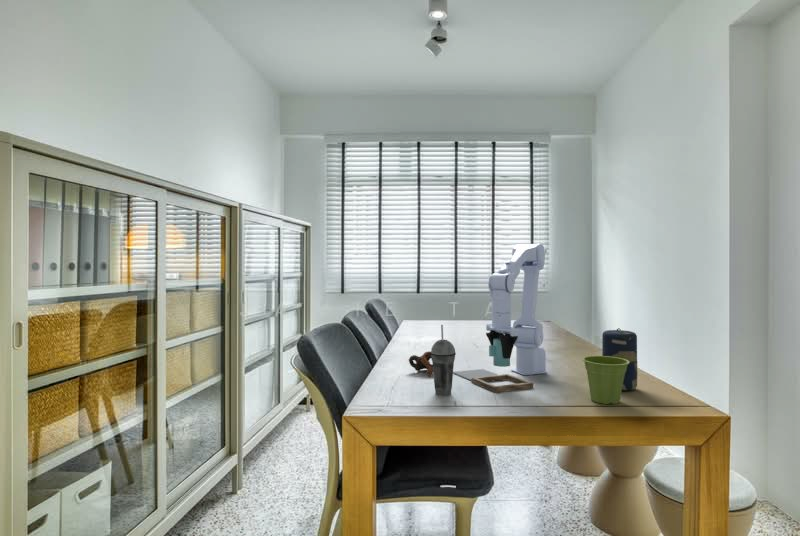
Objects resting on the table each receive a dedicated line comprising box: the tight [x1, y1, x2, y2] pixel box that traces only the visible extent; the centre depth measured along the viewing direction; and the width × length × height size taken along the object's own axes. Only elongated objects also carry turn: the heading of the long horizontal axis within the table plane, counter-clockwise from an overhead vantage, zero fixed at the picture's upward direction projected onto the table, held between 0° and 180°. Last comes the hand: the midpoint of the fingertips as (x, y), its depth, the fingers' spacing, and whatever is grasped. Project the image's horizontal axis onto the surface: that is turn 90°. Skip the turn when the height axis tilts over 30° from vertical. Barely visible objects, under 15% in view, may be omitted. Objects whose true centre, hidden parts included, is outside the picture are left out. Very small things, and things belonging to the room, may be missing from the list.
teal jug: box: [488, 338, 511, 368], centre depth 154 cm, size 7×5×8 cm
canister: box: [601, 327, 638, 391], centre depth 150 cm, size 10×10×18 cm
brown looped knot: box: [408, 351, 433, 377], centre depth 172 cm, size 12×10×8 cm
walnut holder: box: [471, 373, 534, 393], centre depth 154 cm, size 13×13×2 cm
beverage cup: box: [430, 324, 457, 397], centre depth 145 cm, size 7×7×20 cm
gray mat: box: [453, 368, 499, 382], centre depth 168 cm, size 12×12×1 cm
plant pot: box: [581, 355, 630, 405], centre depth 136 cm, size 12×12×11 cm
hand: (501, 356), depth 154 cm, fingers closed on teal jug, 5 cm apart
